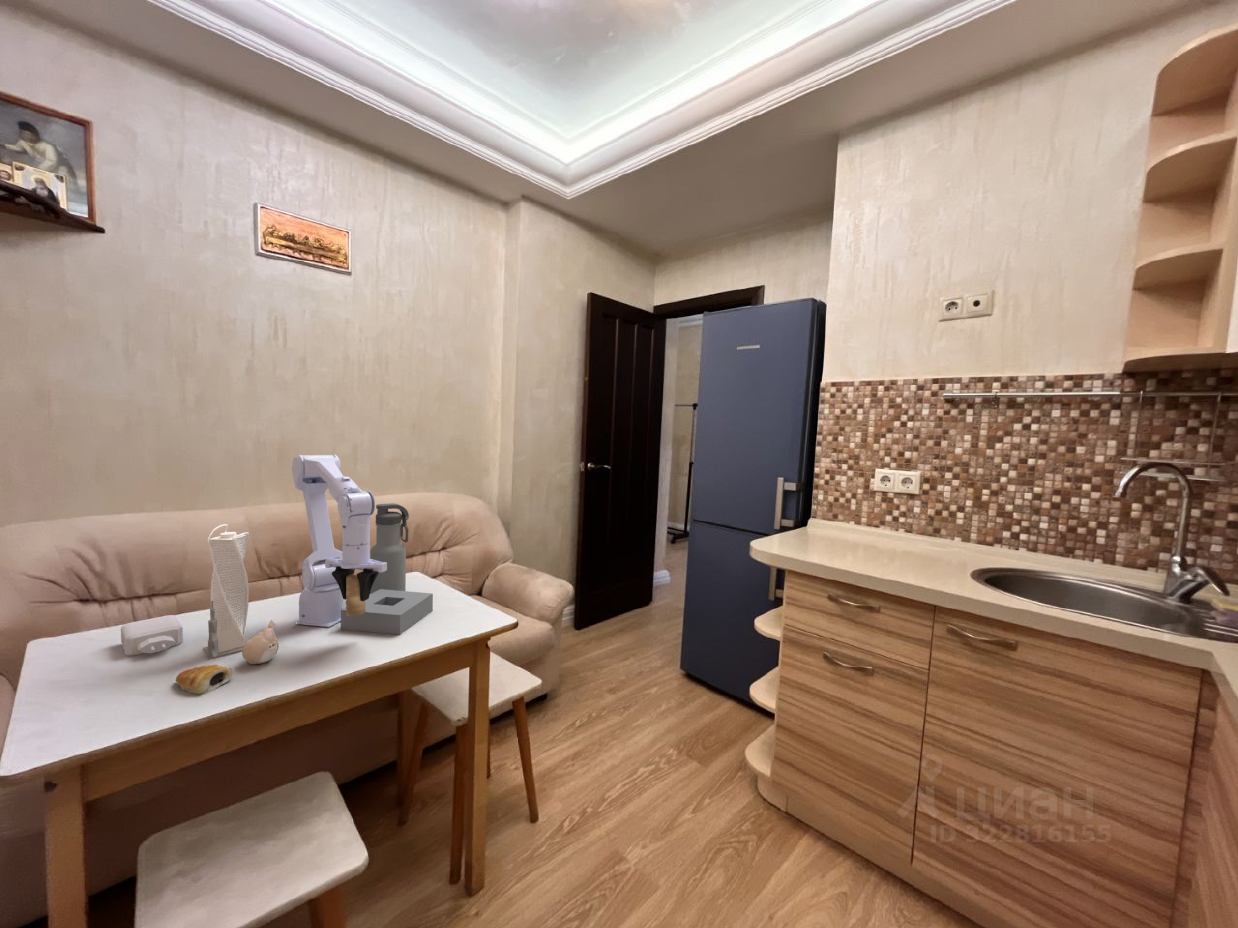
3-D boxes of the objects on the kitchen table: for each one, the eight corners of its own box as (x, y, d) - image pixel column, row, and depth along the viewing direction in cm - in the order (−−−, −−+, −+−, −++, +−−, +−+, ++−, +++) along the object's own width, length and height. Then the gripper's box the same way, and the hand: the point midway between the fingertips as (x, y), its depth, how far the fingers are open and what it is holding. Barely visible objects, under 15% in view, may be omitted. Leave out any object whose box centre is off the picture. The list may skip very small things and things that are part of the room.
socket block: (340, 628, 119) (340, 609, 119) (379, 606, 135) (379, 589, 135) (400, 634, 117) (400, 615, 117) (432, 610, 133) (432, 593, 133)
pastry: (163, 689, 90) (163, 670, 90) (201, 672, 97) (201, 654, 97) (201, 697, 88) (201, 677, 88) (237, 679, 95) (237, 661, 95)
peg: (342, 615, 111) (342, 577, 110) (353, 609, 115) (354, 572, 114) (357, 616, 110) (358, 579, 110) (369, 610, 114) (369, 574, 114)
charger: (128, 667, 98) (121, 644, 107) (188, 652, 105) (176, 632, 114) (127, 645, 97) (120, 624, 107) (187, 632, 104) (176, 613, 114)
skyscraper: (201, 647, 107) (199, 525, 105) (246, 636, 113) (245, 521, 111) (208, 660, 101) (206, 532, 100) (255, 648, 108) (253, 527, 106)
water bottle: (401, 587, 151) (402, 501, 149) (411, 596, 144) (412, 505, 142) (366, 593, 145) (367, 503, 143) (374, 602, 137) (375, 508, 135)
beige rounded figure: (284, 660, 103) (284, 624, 102) (249, 671, 97) (248, 634, 97) (272, 651, 106) (271, 616, 106) (237, 662, 101) (236, 625, 101)
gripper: (315, 544, 108) (315, 602, 109) (373, 549, 107) (373, 607, 108) (337, 537, 115) (337, 591, 116) (392, 542, 114) (391, 597, 115)
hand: (355, 598), depth 112 cm, fingers closed on peg, 4 cm apart
